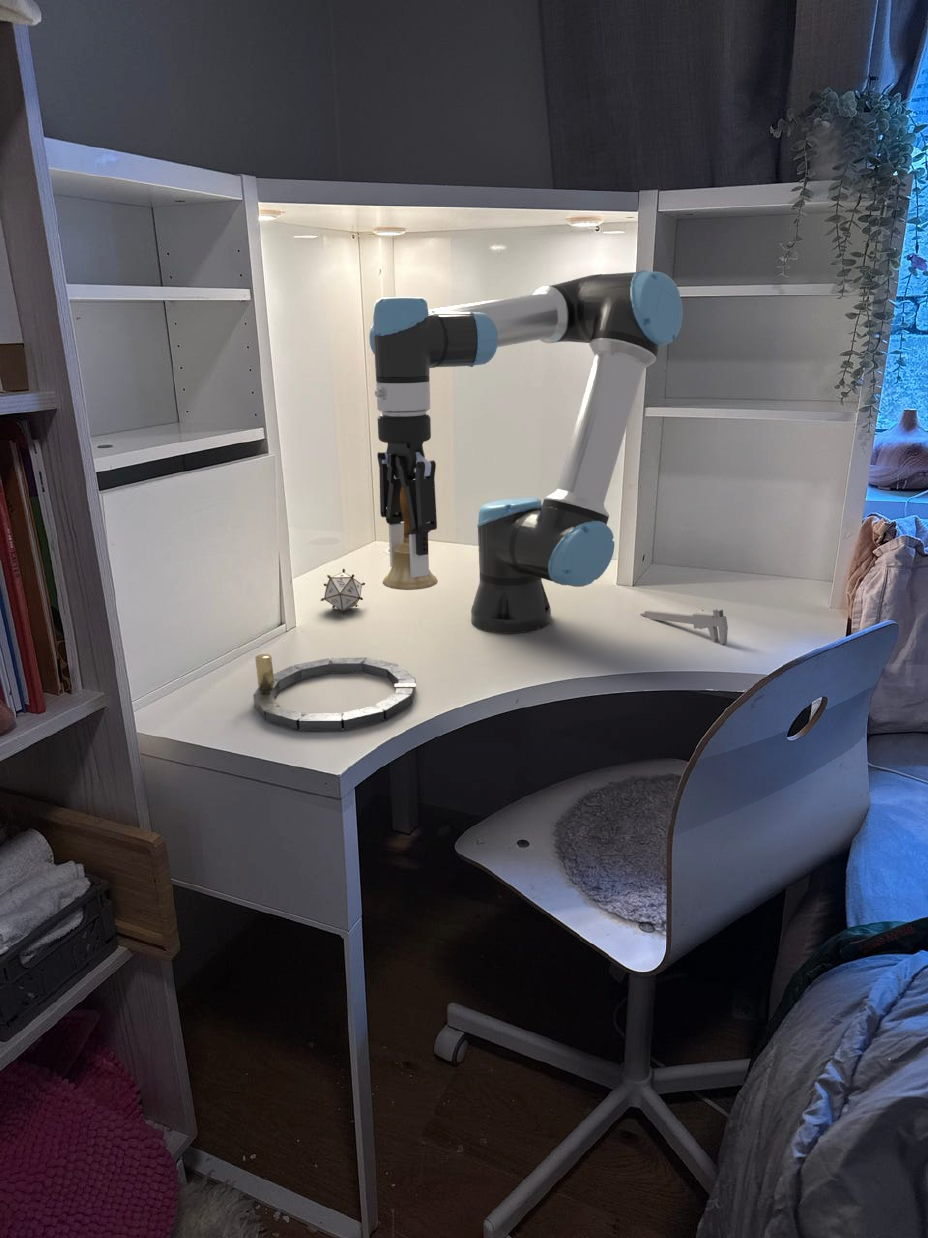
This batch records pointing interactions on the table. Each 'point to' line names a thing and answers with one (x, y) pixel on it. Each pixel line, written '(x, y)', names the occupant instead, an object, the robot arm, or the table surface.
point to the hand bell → (406, 559)
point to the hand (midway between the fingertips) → (409, 570)
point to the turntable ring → (330, 721)
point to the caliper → (696, 622)
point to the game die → (343, 591)
